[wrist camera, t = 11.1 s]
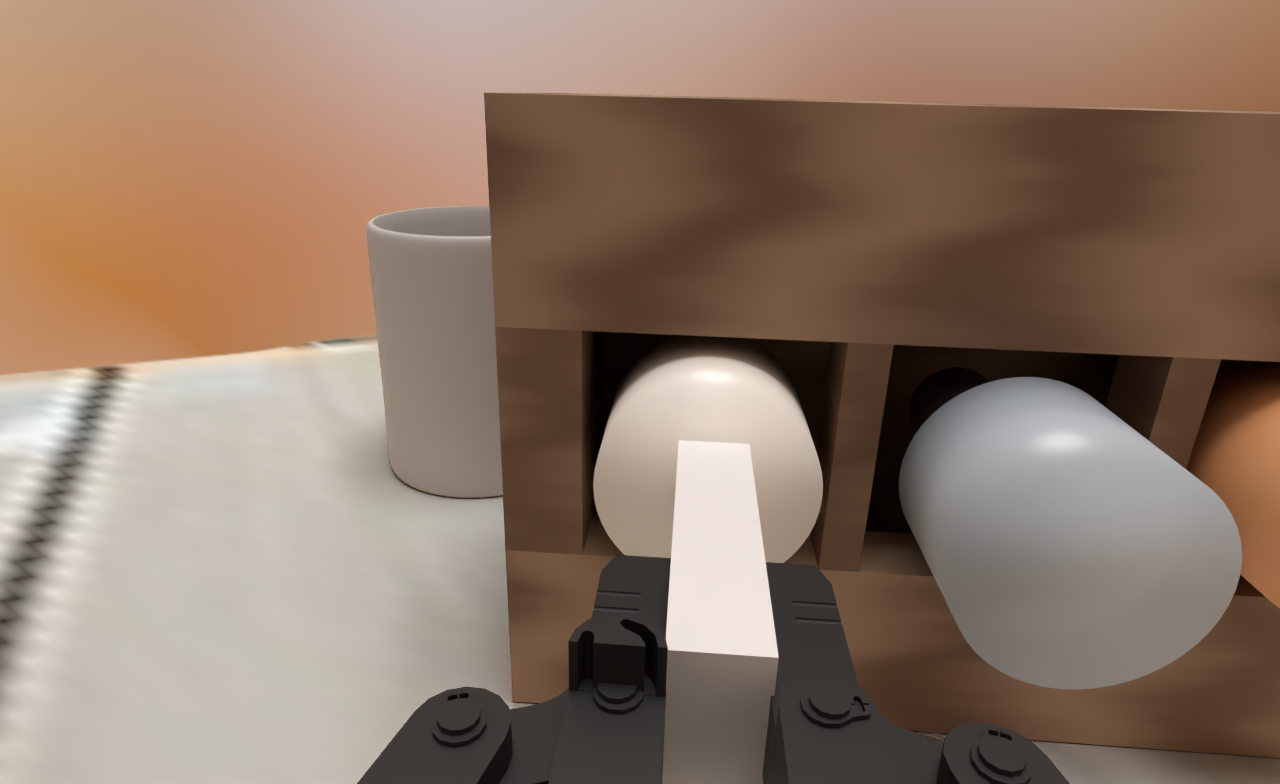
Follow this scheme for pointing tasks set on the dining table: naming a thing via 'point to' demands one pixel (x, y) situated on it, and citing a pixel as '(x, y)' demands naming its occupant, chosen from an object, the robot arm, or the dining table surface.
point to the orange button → (1246, 463)
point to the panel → (882, 343)
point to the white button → (710, 412)
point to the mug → (438, 348)
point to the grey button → (1061, 531)
